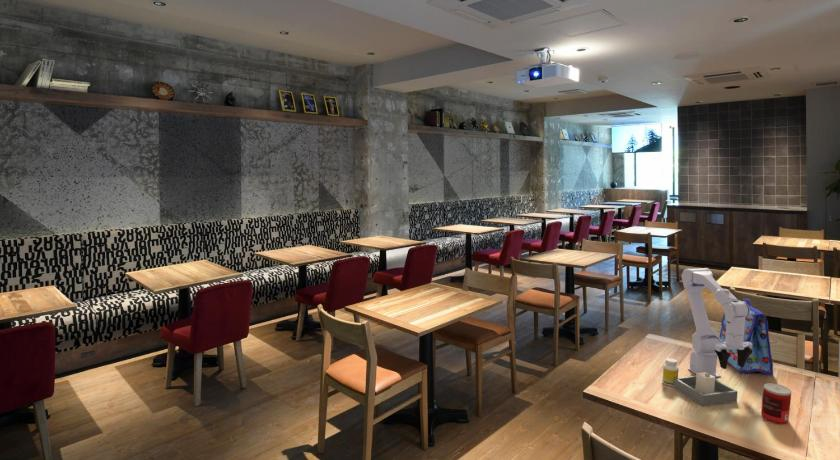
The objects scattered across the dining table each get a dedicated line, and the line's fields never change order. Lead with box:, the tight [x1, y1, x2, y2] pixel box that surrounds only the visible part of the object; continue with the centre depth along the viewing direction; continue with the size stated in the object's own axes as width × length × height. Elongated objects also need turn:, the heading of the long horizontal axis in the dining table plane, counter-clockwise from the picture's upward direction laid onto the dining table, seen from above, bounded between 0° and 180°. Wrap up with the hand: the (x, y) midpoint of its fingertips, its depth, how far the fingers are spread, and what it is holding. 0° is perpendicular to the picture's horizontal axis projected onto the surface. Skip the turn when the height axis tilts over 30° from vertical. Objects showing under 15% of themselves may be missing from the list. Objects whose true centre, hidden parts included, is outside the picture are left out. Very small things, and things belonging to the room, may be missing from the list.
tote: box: [673, 375, 738, 407], centre depth 183 cm, size 15×15×4 cm
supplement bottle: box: [661, 357, 680, 387], centre depth 192 cm, size 5×5×10 cm
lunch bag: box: [719, 298, 774, 376], centre depth 208 cm, size 22×14×29 cm, turn 172°
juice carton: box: [695, 372, 716, 395], centre depth 182 cm, size 5×4×8 cm
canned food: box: [760, 382, 792, 425], centre depth 165 cm, size 8×8×11 cm
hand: (731, 367), depth 185 cm, fingers open, 7 cm apart
